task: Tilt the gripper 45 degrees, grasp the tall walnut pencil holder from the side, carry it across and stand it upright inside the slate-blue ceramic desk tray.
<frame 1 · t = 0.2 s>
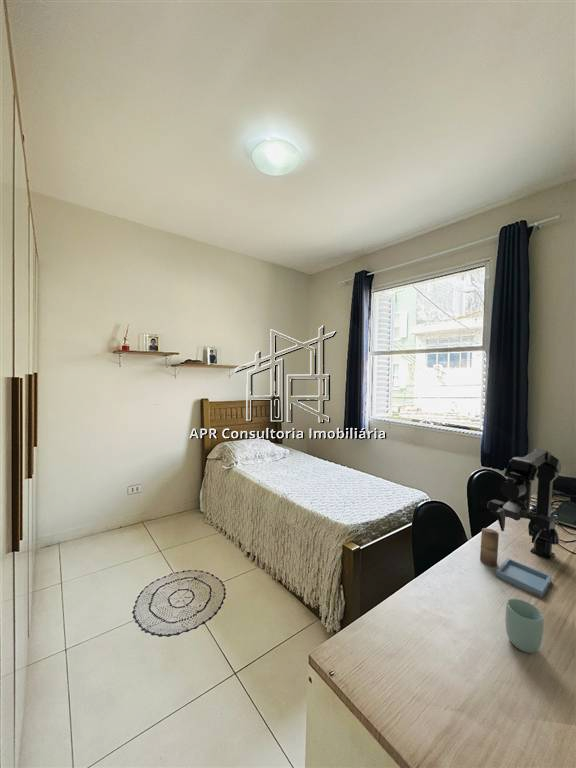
hand: (517, 536, 110), 15 cm above the table, tool pointing down, fingers open, 9 cm apart
cup: (522, 646, 82), on the table
desk tray: (523, 579, 109), on the table
pencil holder: (488, 561, 119), on the table
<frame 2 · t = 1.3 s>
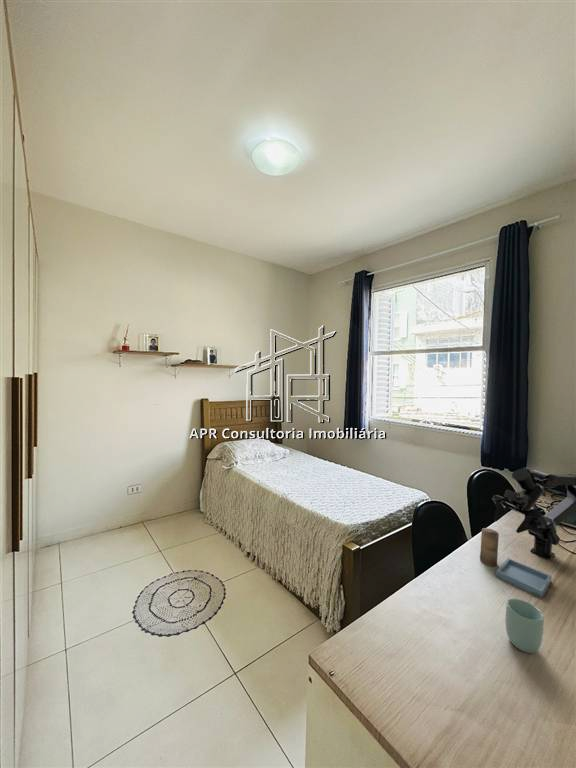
hand: (505, 526, 120), 13 cm above the table, tool tilted 45°, fingers open, 9 cm apart
nothing on the table moved.
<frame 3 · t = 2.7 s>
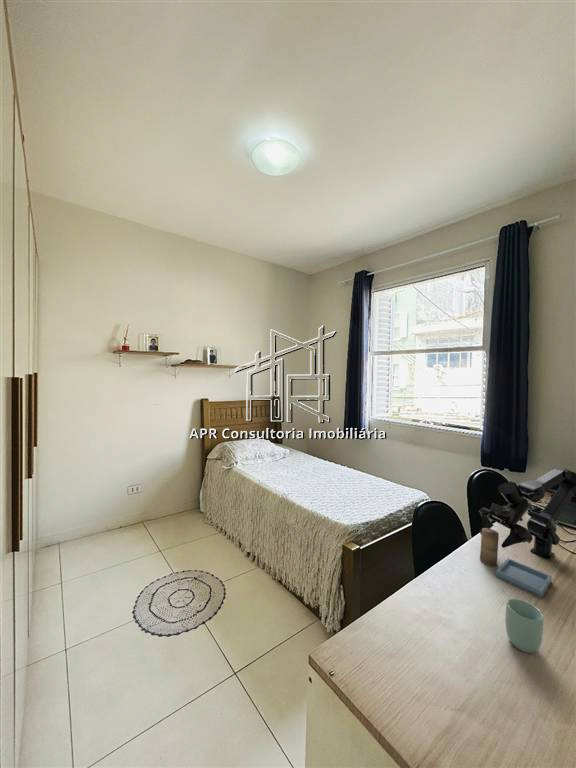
hand: (491, 540, 118), 8 cm above the table, tool tilted 45°, fingers open, 9 cm apart
nothing on the table moved.
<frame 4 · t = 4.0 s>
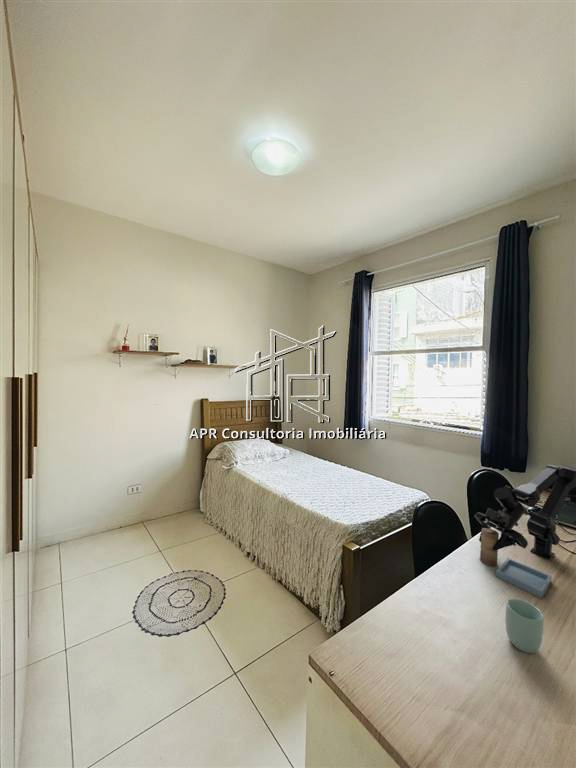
hand: (486, 545, 118), 7 cm above the table, tool tilted 45°, fingers closed on pencil holder, 5 cm apart
pencil holder: (488, 561, 118), on the table, touching gripper
everything else where it was.
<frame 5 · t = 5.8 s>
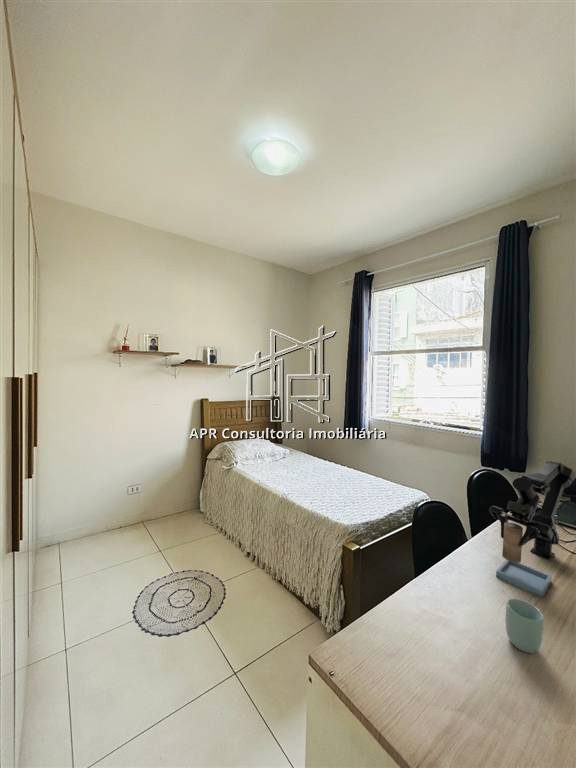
hand: (510, 541, 111), 12 cm above the table, tool tilted 45°, fingers closed on pencil holder, 5 cm apart
pencil holder: (511, 558, 112), point 6 cm above the table, touching gripper
everything else where it was.
when the fingers open (8 cm above the table, at t = 7.5 s): pencil holder stays where it is, resting on desk tray.
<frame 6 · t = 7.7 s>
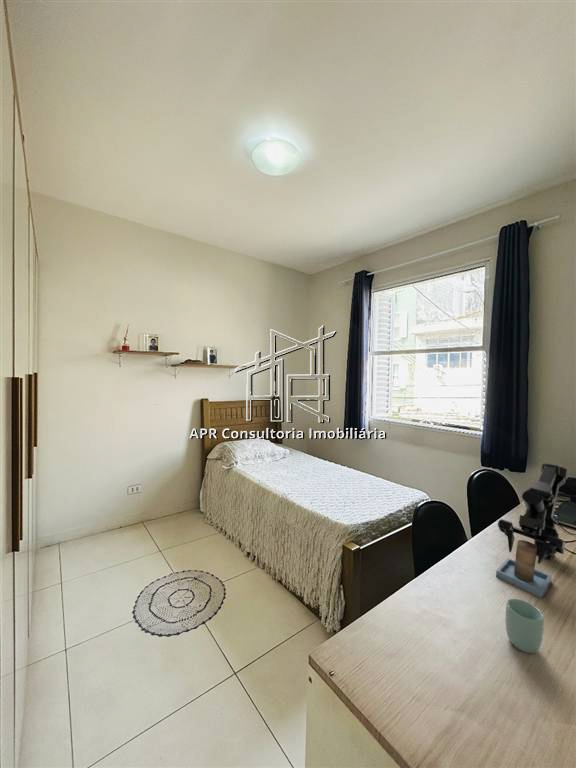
hand: (523, 557, 108), 9 cm above the table, tool tilted 45°, fingers open, 8 cm apart
pencil holder: (523, 576, 109), point 1 cm above the table, touching desk tray
everything else where it was.
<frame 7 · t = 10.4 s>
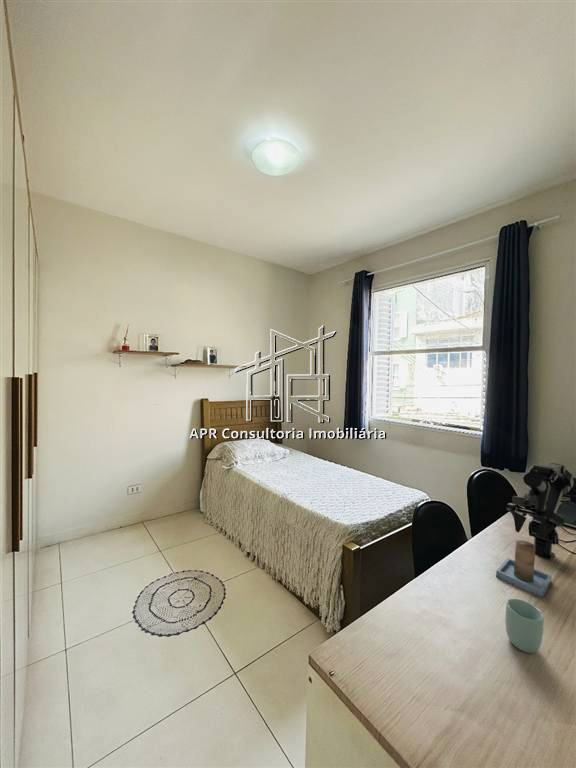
hand: (528, 535, 115), 13 cm above the table, tool tilted 30°, fingers open, 9 cm apart
nothing on the table moved.
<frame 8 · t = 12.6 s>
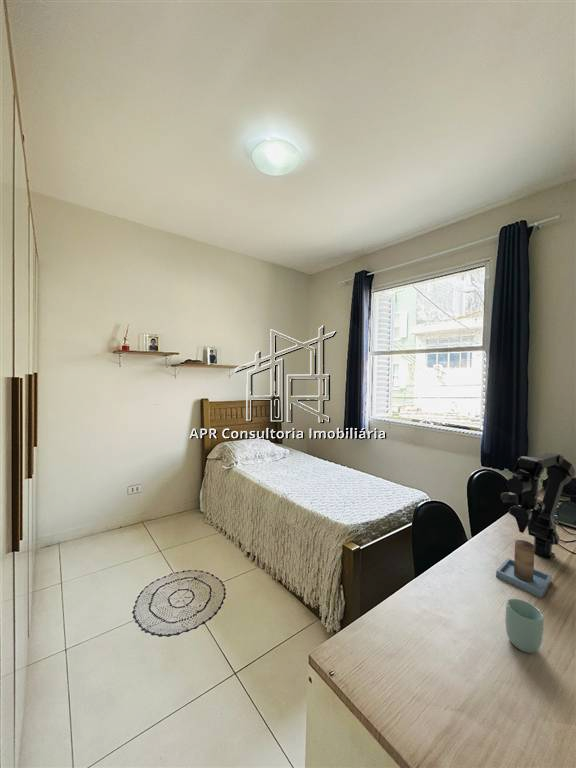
hand: (525, 529, 119), 13 cm above the table, tool pointing down, fingers open, 9 cm apart
nothing on the table moved.
at the end: pencil holder 0.1 cm off-centre on the desk tray, point 0.9 cm above the desk tray's base; pencil holder tilted 1°; the gripper is holding nothing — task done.
